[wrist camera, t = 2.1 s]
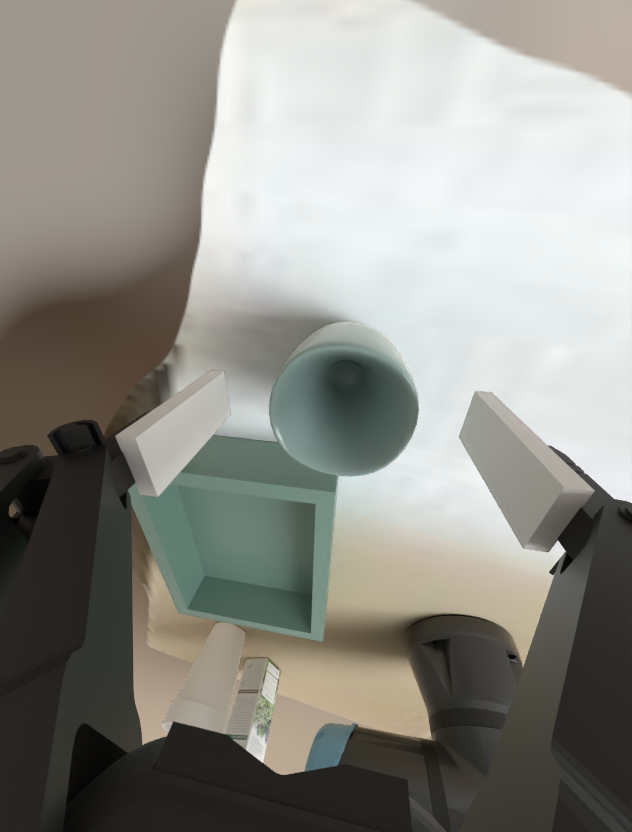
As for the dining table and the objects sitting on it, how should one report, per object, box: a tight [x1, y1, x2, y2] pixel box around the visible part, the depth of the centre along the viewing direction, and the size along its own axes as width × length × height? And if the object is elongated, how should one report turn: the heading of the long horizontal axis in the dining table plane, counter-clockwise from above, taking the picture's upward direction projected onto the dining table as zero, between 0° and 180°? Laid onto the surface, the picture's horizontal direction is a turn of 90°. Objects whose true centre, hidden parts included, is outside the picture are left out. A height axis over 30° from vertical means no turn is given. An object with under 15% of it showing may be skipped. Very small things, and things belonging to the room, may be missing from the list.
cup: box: [269, 322, 419, 476], centre depth 18 cm, size 8×8×10 cm
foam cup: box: [162, 622, 246, 734], centre depth 45 cm, size 10×9×13 cm
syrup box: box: [225, 658, 281, 763], centre depth 49 cm, size 6×6×14 cm
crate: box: [128, 435, 338, 642], centre depth 31 cm, size 26×20×6 cm
